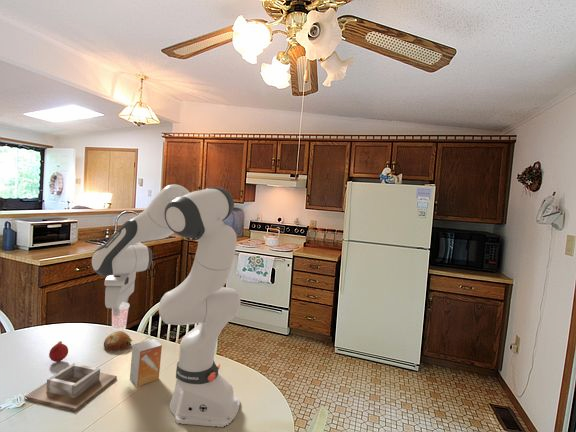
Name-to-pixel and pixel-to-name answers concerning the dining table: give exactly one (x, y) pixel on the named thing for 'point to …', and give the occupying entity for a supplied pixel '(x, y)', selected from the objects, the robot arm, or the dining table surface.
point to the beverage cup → (120, 317)
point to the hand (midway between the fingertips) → (120, 311)
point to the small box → (145, 362)
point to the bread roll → (117, 341)
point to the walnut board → (71, 387)
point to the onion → (58, 352)
